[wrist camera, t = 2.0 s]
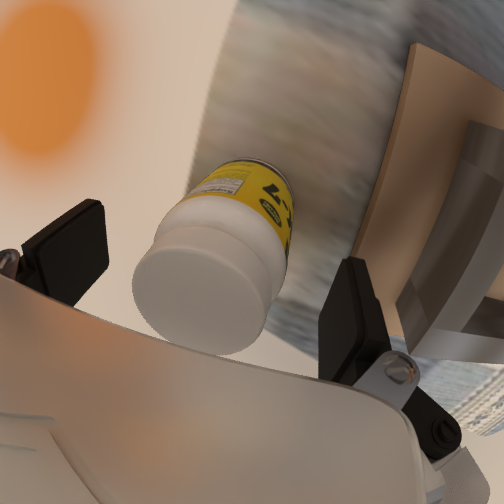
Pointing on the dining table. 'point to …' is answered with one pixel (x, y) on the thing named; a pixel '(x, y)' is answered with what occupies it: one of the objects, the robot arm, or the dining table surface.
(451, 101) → the pocket board
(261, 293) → the supplement bottle
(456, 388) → the dining table surface
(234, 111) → the dining table surface
